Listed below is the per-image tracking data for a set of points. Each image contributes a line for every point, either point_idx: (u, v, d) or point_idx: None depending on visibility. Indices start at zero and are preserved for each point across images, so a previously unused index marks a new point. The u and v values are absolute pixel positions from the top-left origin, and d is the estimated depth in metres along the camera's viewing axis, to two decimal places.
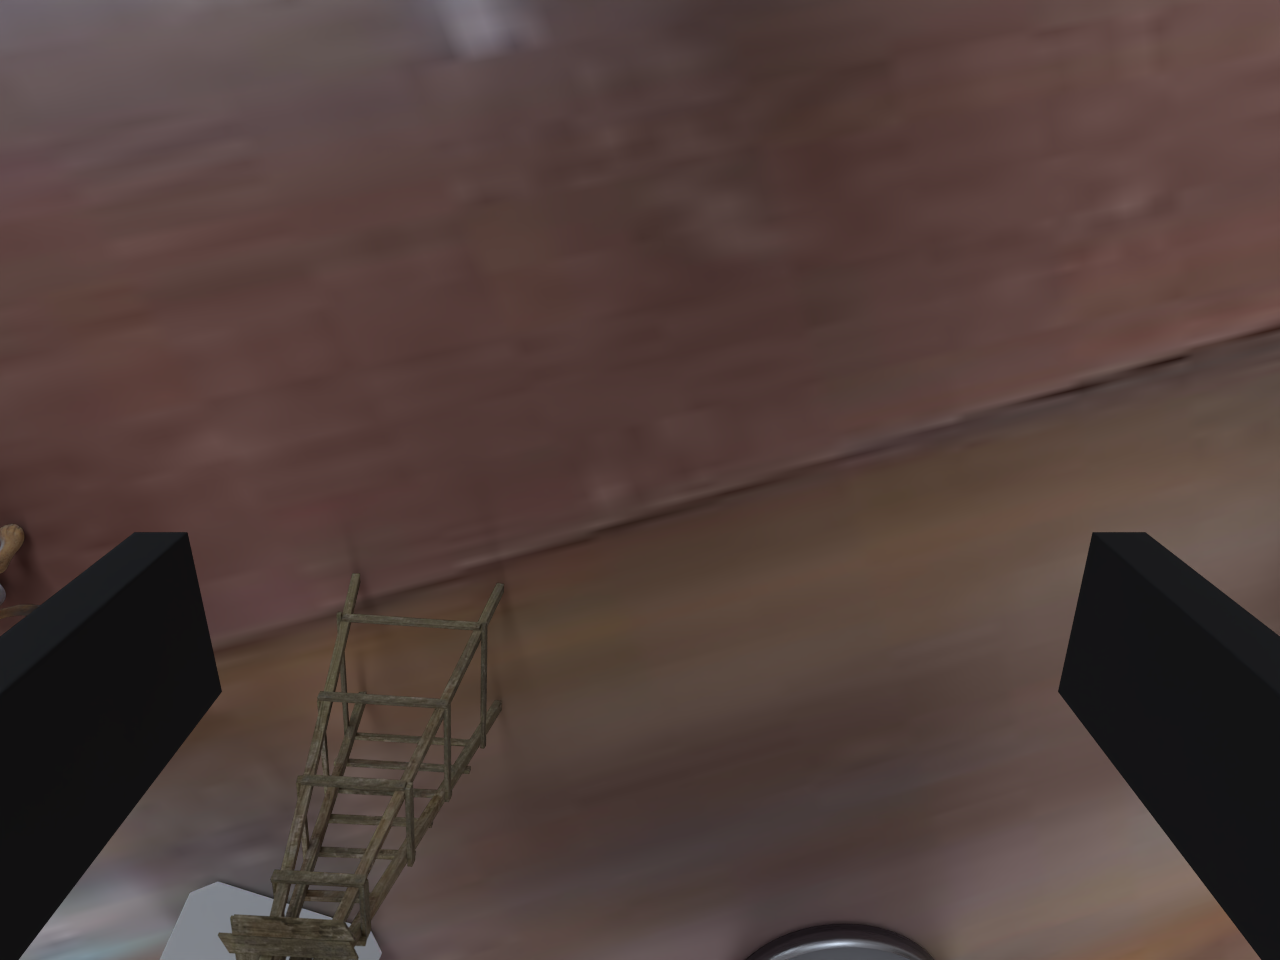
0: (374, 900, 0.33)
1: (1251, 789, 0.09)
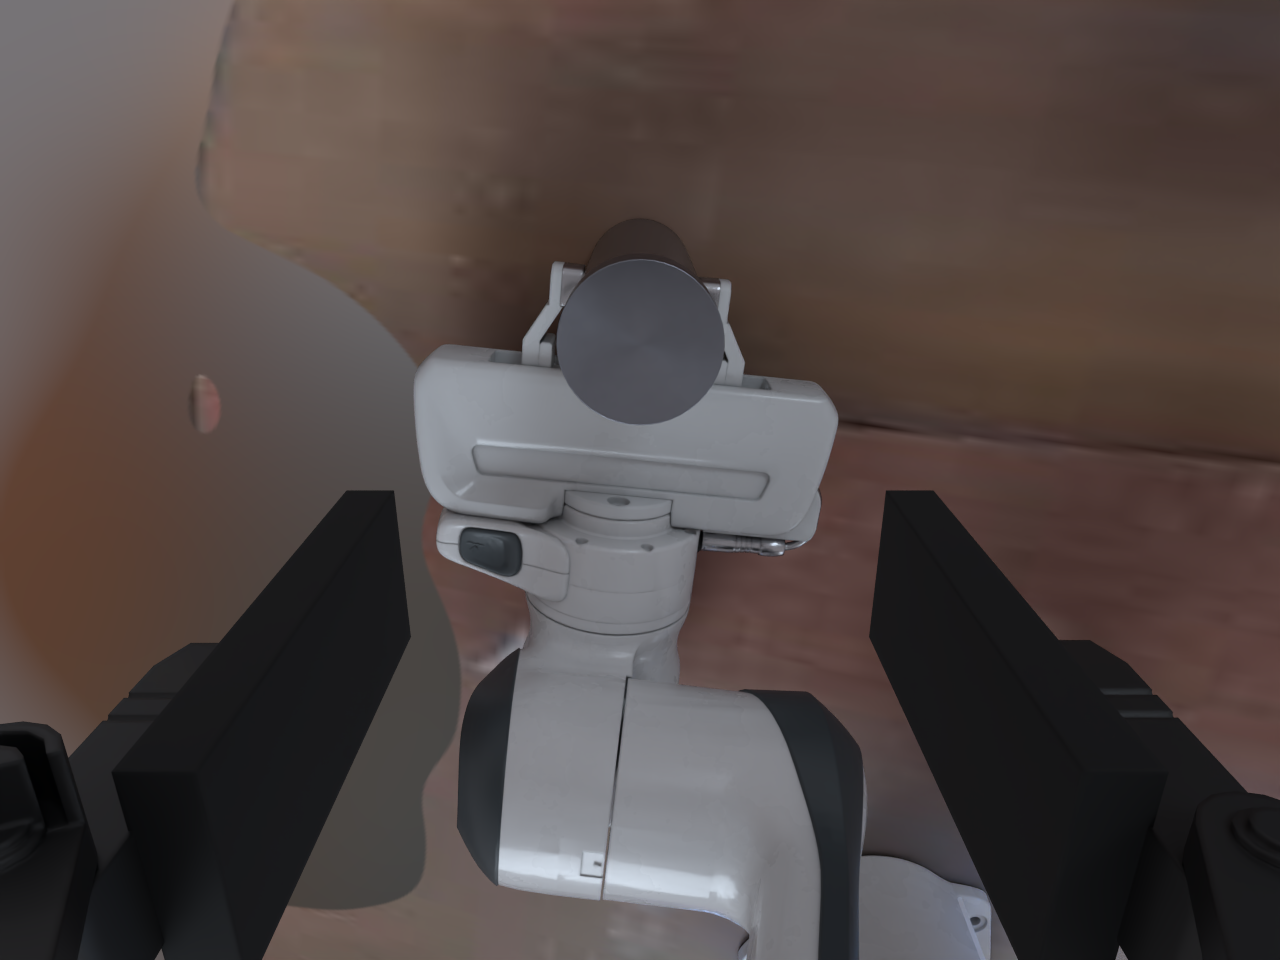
0: None
1: (960, 698, 0.10)
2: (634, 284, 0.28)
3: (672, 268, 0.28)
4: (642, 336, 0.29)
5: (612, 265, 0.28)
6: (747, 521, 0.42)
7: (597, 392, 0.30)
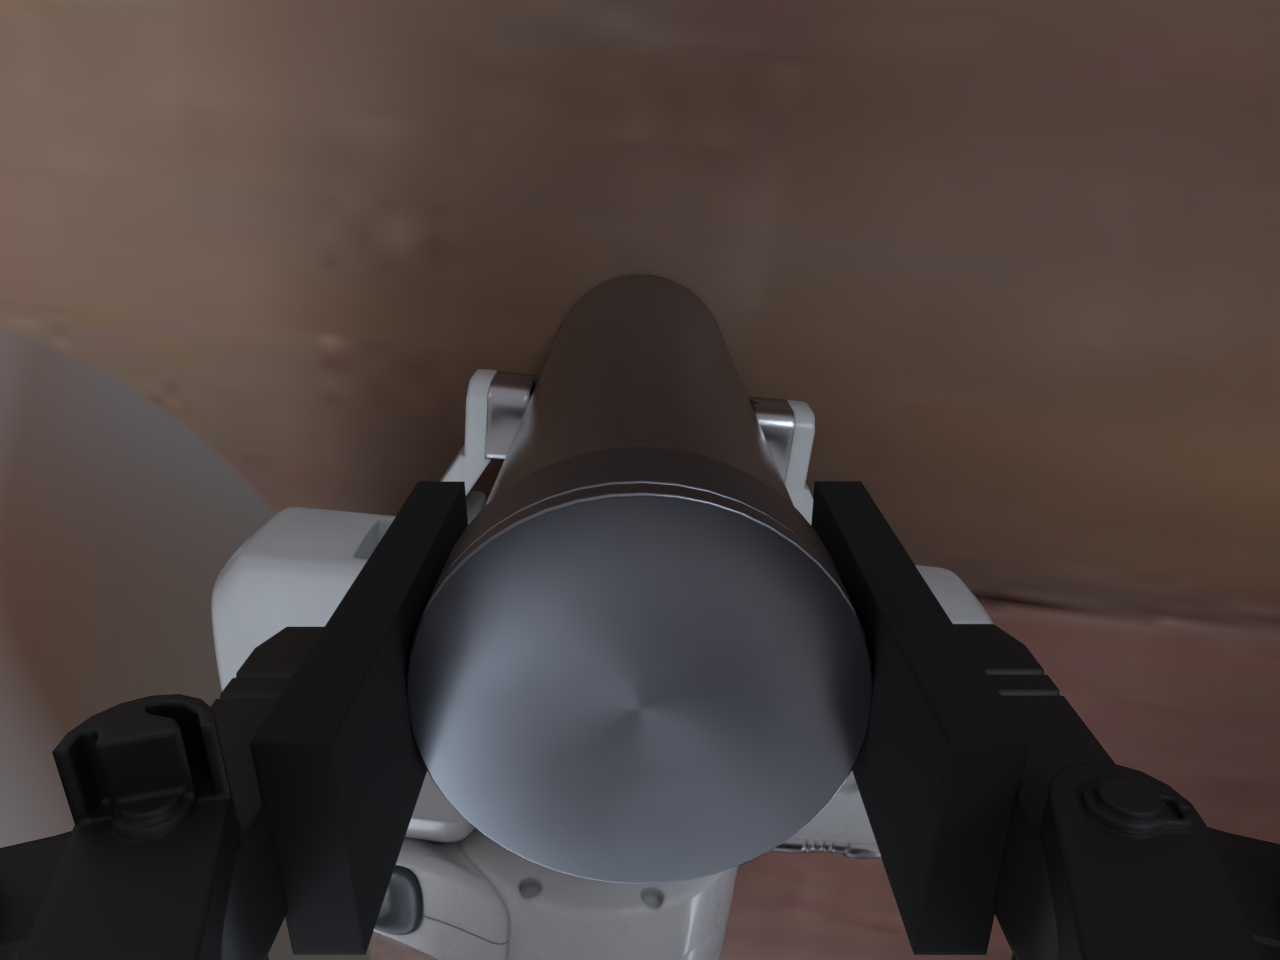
0: None
1: None
2: (622, 560, 0.10)
3: (733, 518, 0.10)
4: (645, 687, 0.10)
5: (556, 510, 0.10)
6: (833, 825, 0.23)
7: (524, 814, 0.11)
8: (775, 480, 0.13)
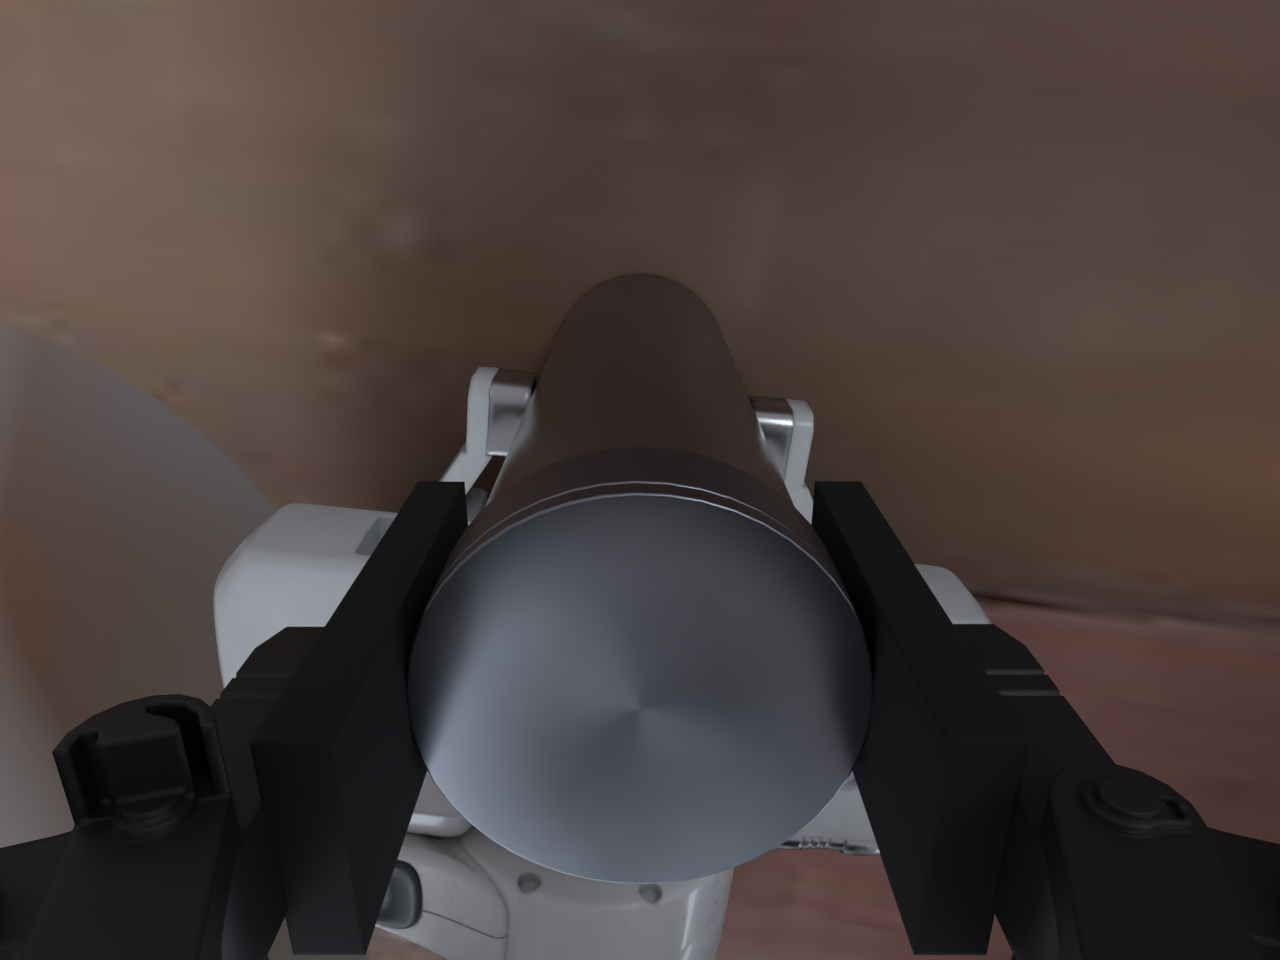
0: None
1: None
2: (481, 743, 0.11)
3: (414, 667, 0.10)
4: (614, 707, 0.11)
5: (446, 796, 0.11)
6: (829, 822, 0.23)
7: (787, 786, 0.11)
8: (774, 477, 0.13)
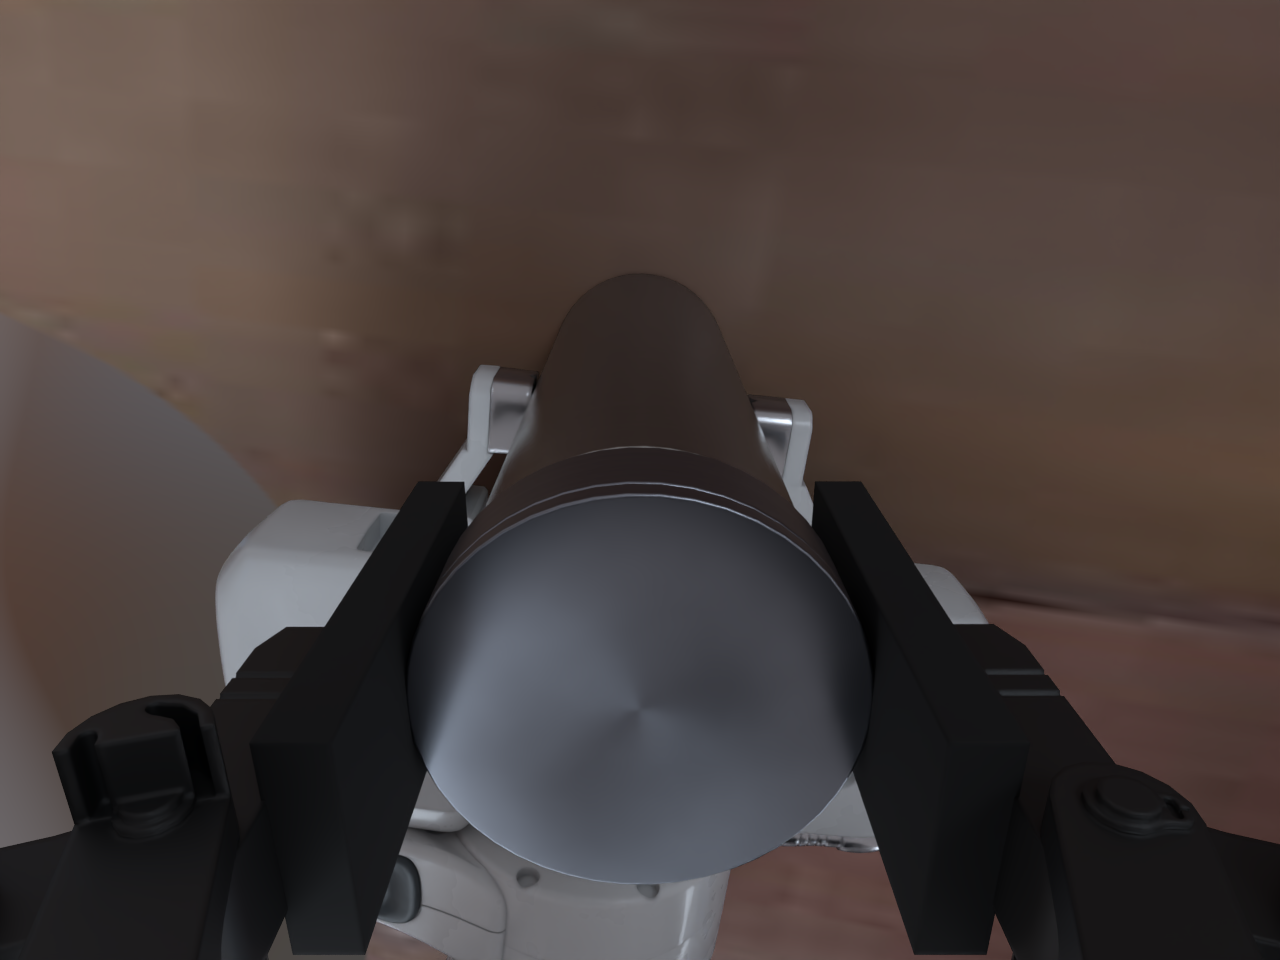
0: None
1: None
2: (703, 829, 0.11)
3: (626, 881, 0.12)
4: (642, 729, 0.11)
5: (770, 850, 0.11)
6: (826, 819, 0.24)
7: (717, 559, 0.10)
8: (773, 474, 0.13)
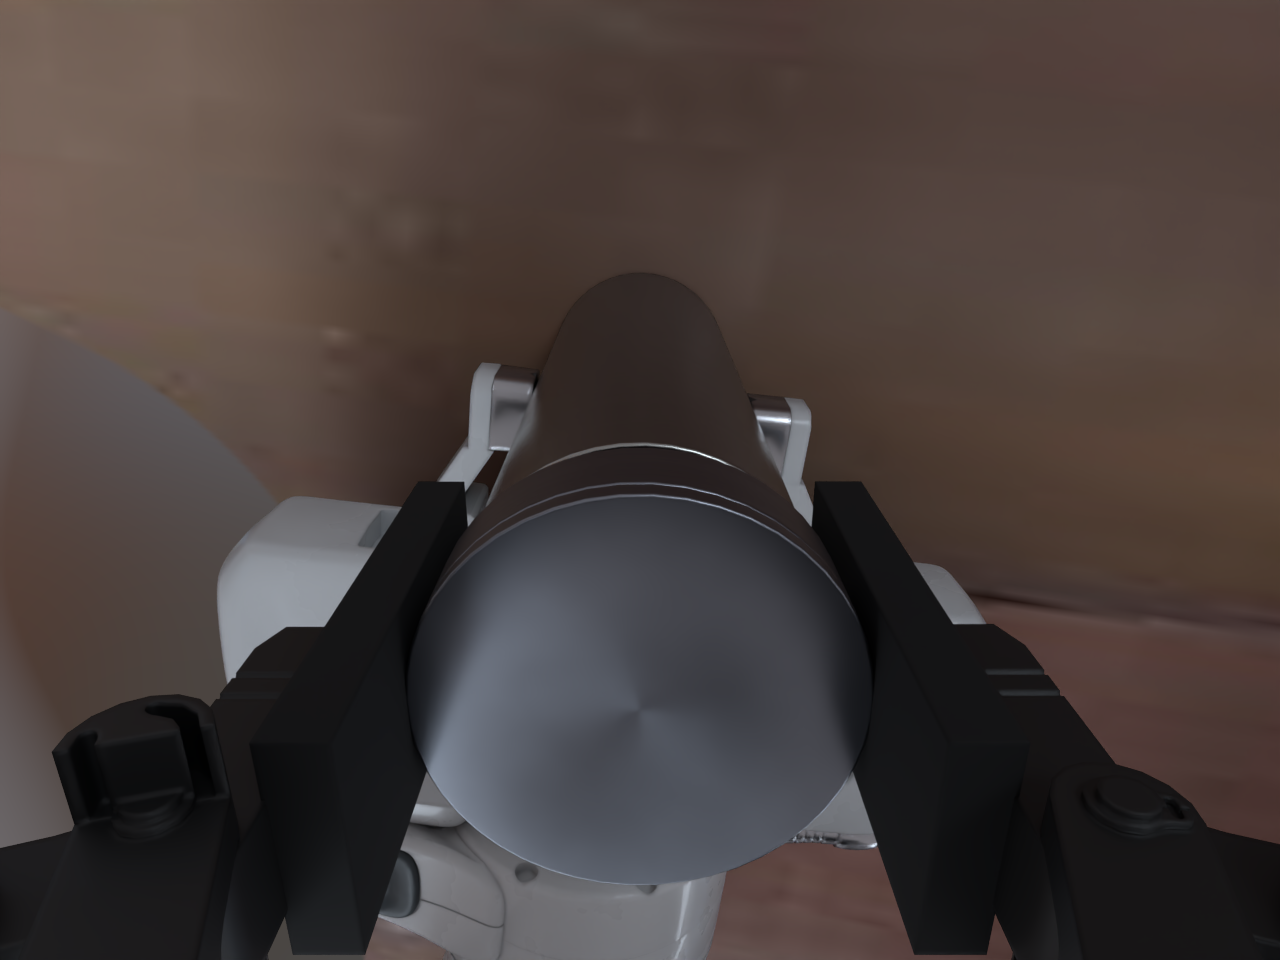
0: None
1: None
2: (785, 631, 0.10)
3: (867, 692, 0.10)
4: (664, 704, 0.10)
5: (809, 560, 0.10)
6: (823, 815, 0.24)
7: (459, 671, 0.10)
8: (772, 471, 0.13)
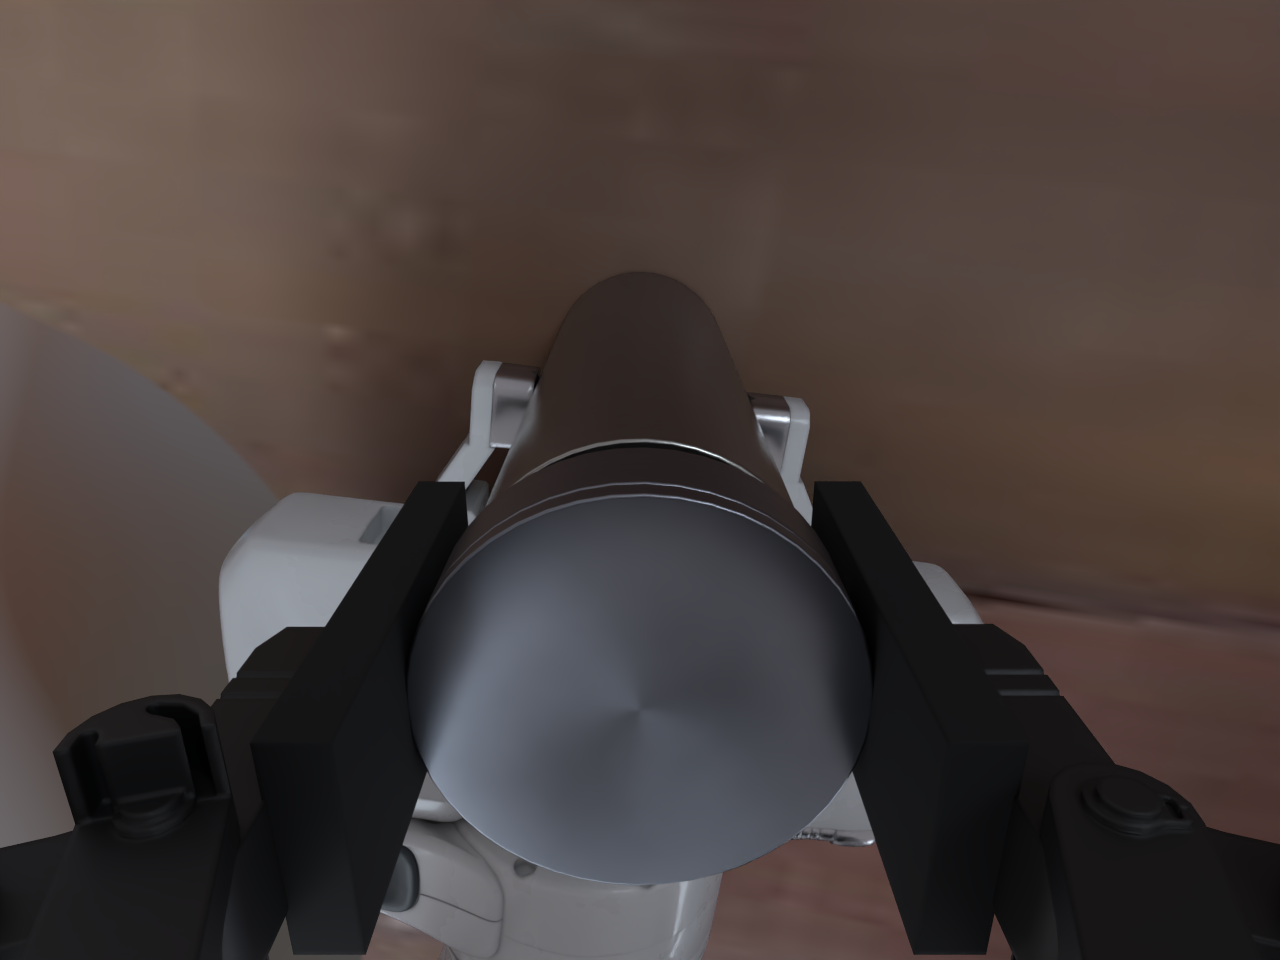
0: None
1: None
2: (520, 602, 0.10)
3: (575, 510, 0.10)
4: (628, 690, 0.10)
5: (437, 598, 0.10)
6: None
7: (625, 848, 0.11)
8: (771, 468, 0.14)
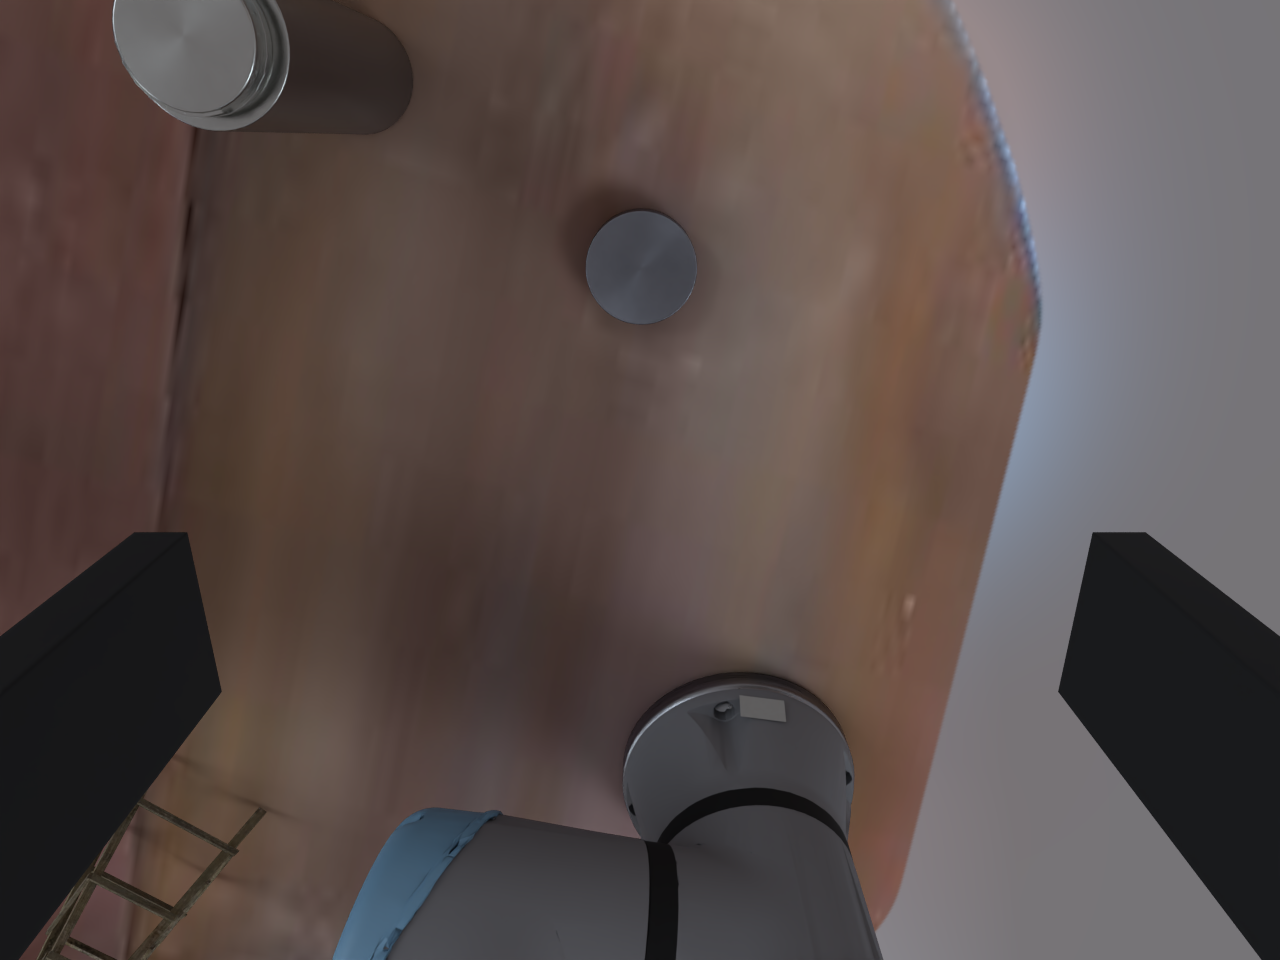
0: None
1: (1251, 789, 0.09)
2: (614, 239, 0.44)
3: (627, 214, 0.43)
4: (638, 263, 0.44)
5: (595, 237, 0.44)
6: None
7: (637, 312, 0.45)
8: (275, 120, 0.30)
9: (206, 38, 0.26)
